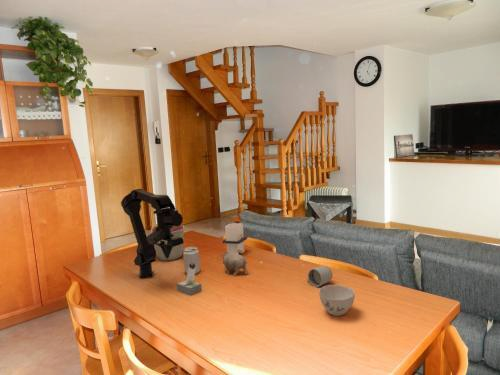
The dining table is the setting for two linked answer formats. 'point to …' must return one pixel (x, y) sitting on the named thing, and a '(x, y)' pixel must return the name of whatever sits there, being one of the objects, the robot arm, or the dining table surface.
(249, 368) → the dining table surface
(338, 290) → the teacup
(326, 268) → the ceramic mug
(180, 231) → the canister
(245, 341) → the dining table surface
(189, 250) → the can
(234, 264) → the rhinoceros figurine
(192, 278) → the toggle lever
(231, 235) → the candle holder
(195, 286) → the switch box
